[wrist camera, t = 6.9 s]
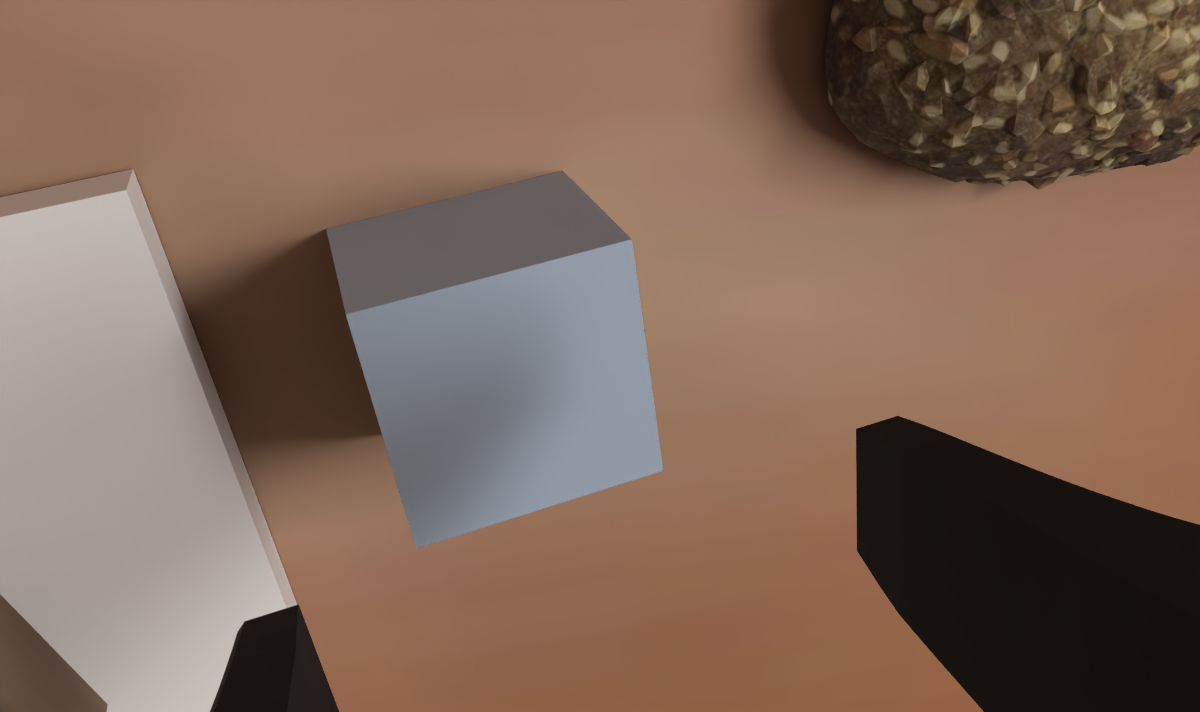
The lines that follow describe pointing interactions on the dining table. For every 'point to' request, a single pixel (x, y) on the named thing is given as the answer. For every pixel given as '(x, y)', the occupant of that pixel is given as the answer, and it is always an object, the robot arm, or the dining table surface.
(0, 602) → the walnut block
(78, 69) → the dining table surface
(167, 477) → the baseplate
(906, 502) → the robot arm
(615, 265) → the slate block
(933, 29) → the bread roll
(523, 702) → the dining table surface
